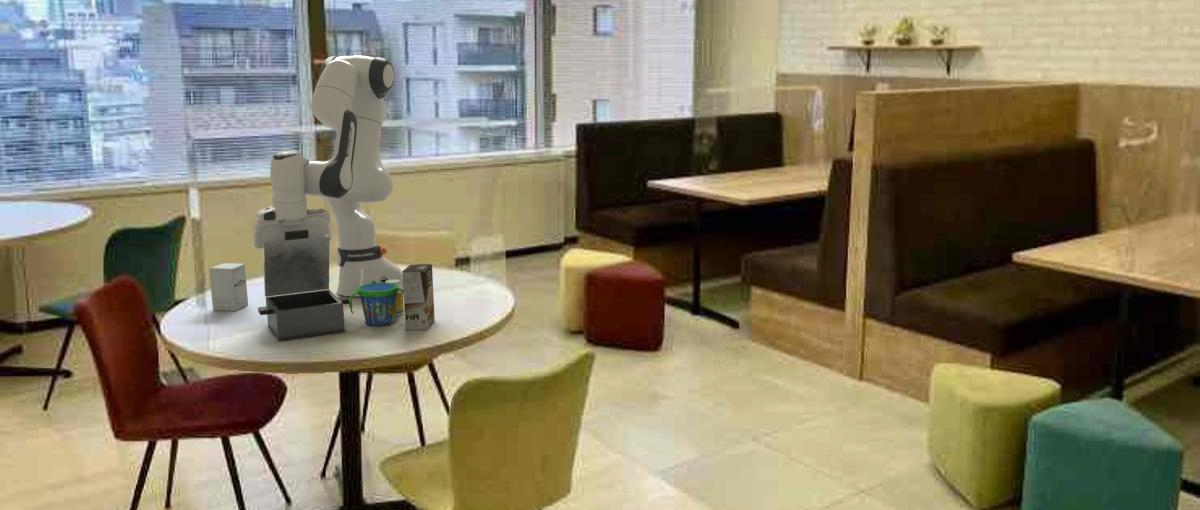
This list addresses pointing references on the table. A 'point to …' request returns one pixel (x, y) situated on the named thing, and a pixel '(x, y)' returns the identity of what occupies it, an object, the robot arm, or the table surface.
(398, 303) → the supplement bottle
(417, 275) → the coffee box
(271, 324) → the cooker pot
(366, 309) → the snack cup
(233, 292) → the supplement box
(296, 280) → the lid
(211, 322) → the table surface
